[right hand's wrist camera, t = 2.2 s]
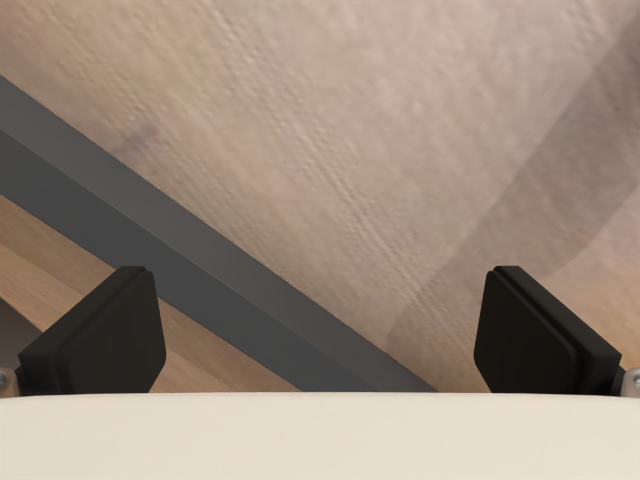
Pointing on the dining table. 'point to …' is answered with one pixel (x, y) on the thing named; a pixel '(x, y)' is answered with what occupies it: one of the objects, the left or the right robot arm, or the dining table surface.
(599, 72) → the dining table surface
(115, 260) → the post
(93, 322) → the right robot arm
